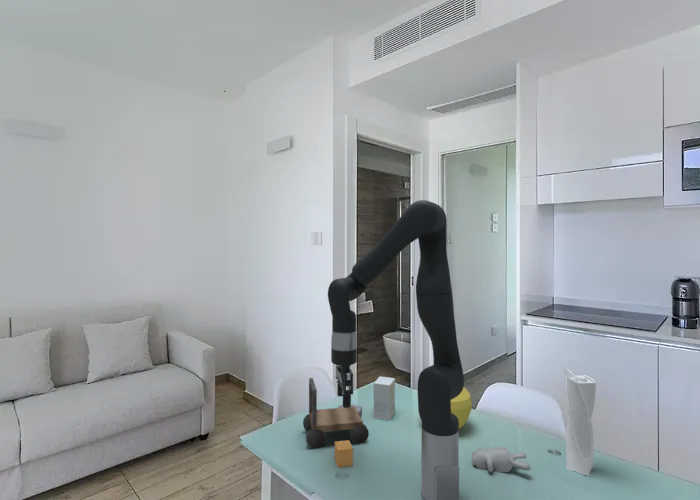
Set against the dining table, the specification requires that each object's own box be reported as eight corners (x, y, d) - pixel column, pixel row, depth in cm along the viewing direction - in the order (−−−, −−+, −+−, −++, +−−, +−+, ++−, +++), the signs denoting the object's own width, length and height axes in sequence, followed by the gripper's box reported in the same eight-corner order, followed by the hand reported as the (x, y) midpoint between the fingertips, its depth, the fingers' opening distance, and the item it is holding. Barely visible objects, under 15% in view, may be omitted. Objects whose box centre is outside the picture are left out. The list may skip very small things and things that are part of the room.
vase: (440, 410, 150) (441, 333, 150) (482, 428, 136) (483, 343, 136) (407, 424, 139) (407, 340, 139) (448, 444, 125) (449, 351, 124)
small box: (379, 409, 152) (379, 375, 151) (395, 411, 149) (395, 377, 149) (373, 418, 144) (373, 382, 144) (389, 420, 142) (390, 385, 142)
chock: (352, 465, 113) (352, 448, 113) (337, 467, 112) (337, 450, 112) (349, 456, 118) (349, 440, 118) (334, 458, 117) (334, 441, 117)
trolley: (360, 426, 138) (360, 374, 137) (368, 443, 126) (369, 386, 126) (302, 431, 133) (303, 378, 133) (306, 449, 122) (306, 391, 121)
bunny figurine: (470, 442, 119) (524, 443, 115) (472, 459, 119) (526, 461, 115) (471, 458, 110) (529, 460, 106) (473, 477, 110) (531, 479, 105)
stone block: (331, 430, 138) (358, 427, 136) (328, 416, 139) (355, 413, 137) (338, 417, 150) (364, 414, 148) (336, 404, 150) (361, 401, 148)
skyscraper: (559, 469, 112) (561, 371, 111) (566, 458, 117) (567, 365, 117) (592, 480, 106) (593, 377, 106) (597, 468, 112) (598, 370, 112)
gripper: (362, 352, 108) (362, 410, 109) (351, 339, 122) (351, 391, 122) (335, 353, 107) (335, 412, 107) (327, 340, 121) (327, 393, 121)
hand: (343, 401), depth 115 cm, fingers open, 8 cm apart
